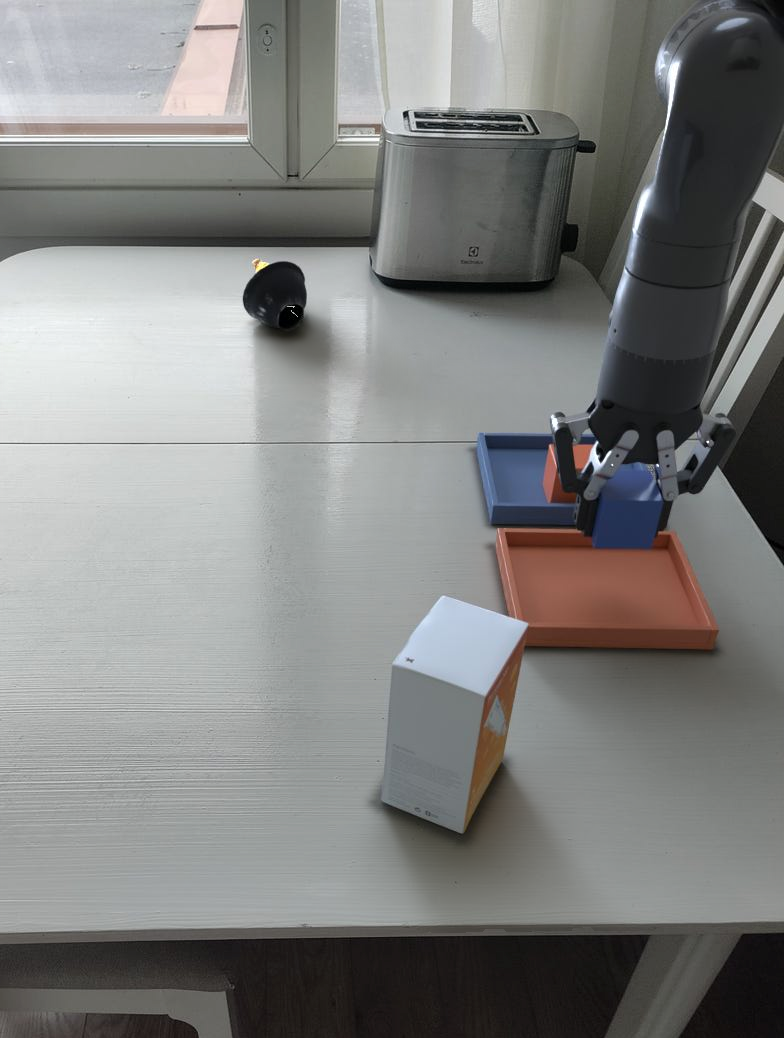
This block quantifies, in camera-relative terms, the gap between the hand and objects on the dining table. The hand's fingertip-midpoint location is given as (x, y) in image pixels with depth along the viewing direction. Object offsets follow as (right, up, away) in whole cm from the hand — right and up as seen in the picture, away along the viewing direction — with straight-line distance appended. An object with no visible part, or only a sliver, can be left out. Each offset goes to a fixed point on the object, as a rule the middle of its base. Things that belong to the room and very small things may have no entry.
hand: (617, 531), depth 81 cm
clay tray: (0, -5, +5) cm, 7 cm away
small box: (-16, -19, -11) cm, 27 cm away
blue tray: (0, +7, +19) cm, 20 cm away
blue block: (0, 0, 0) cm, 0 cm away
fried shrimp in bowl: (-30, +36, +54) cm, 71 cm away
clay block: (0, +5, +16) cm, 17 cm away
